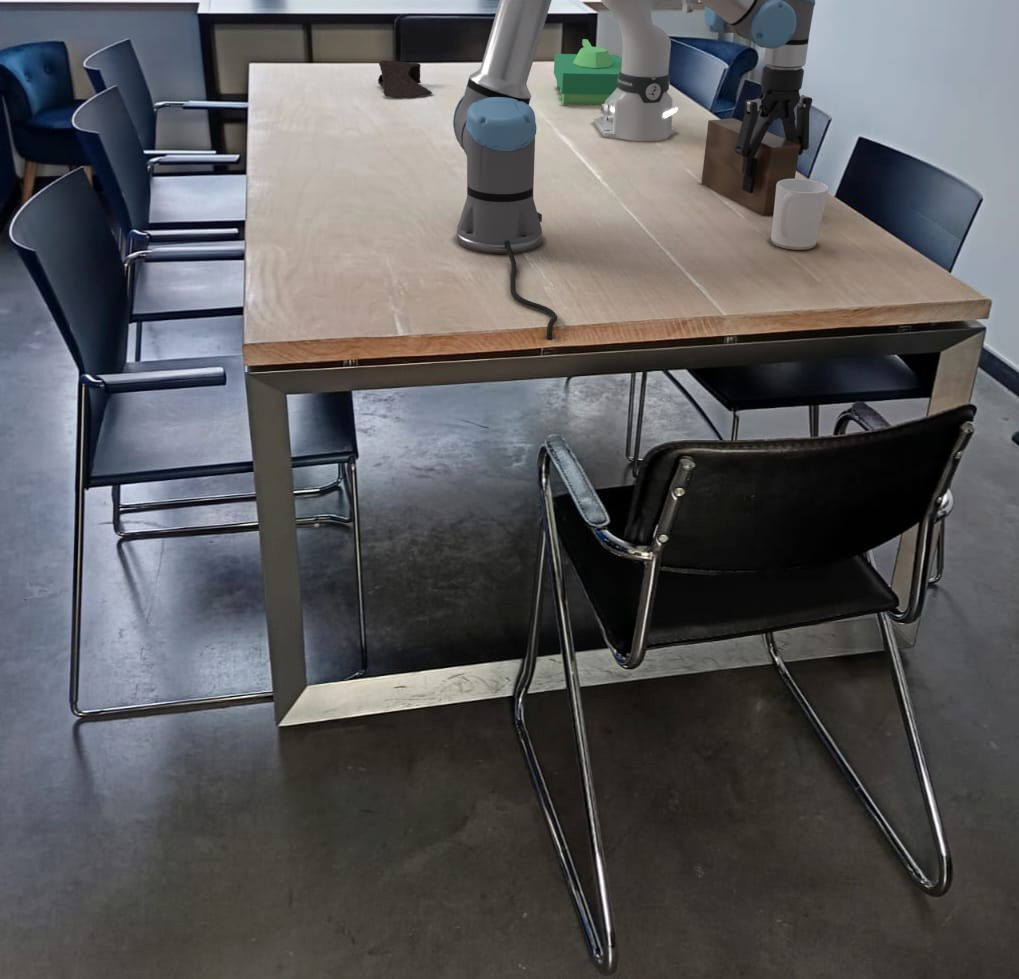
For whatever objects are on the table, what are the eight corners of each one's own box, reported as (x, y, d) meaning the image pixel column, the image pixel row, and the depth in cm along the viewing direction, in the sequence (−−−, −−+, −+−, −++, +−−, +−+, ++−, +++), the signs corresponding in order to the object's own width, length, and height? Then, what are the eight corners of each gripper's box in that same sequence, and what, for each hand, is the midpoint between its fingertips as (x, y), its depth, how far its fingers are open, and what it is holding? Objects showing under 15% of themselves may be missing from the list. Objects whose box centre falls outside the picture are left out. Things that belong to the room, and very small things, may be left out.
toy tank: (614, 36, 311) (632, 59, 281) (611, 81, 317) (628, 108, 287) (553, 34, 310) (563, 57, 280) (550, 80, 316) (561, 107, 286)
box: (789, 212, 213) (800, 145, 207) (763, 215, 211) (773, 147, 204) (725, 181, 231) (733, 118, 224) (701, 183, 229) (708, 120, 222)
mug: (782, 231, 203) (791, 175, 197) (827, 242, 198) (837, 185, 193) (753, 245, 196) (761, 188, 190) (799, 257, 191) (809, 198, 185)
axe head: (443, 87, 294) (392, 77, 287) (436, 115, 299) (385, 106, 292) (421, 62, 307) (371, 52, 300) (414, 89, 311) (365, 80, 304)
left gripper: (817, 59, 208) (798, 179, 220) (724, 65, 201) (710, 188, 213) (842, 66, 203) (821, 189, 214) (747, 73, 195) (731, 199, 207)
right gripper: (750, -67, 223) (741, 7, 230) (662, -65, 216) (656, 11, 223) (768, -64, 218) (758, 11, 225) (679, -62, 211) (672, 15, 218)
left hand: (766, 188), depth 214 cm, fingers open, 8 cm apart
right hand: (707, 11), depth 224 cm, fingers open, 8 cm apart
